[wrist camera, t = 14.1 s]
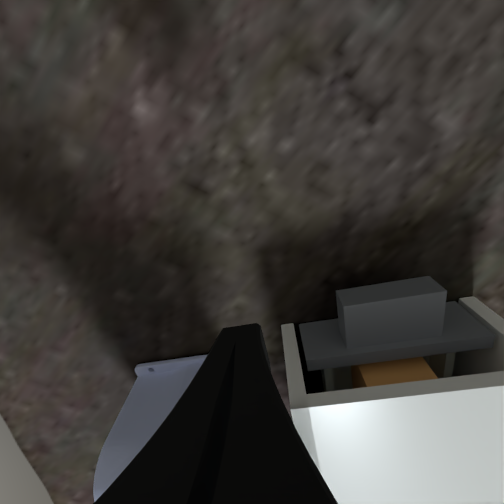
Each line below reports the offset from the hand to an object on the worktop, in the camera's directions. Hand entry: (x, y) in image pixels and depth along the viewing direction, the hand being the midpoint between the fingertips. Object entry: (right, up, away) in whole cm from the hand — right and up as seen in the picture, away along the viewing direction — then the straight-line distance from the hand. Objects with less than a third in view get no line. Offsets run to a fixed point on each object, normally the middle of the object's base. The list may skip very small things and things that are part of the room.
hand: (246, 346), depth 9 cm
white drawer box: (+11, -7, +13) cm, 18 cm away
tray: (+10, -5, +12) cm, 17 cm away
